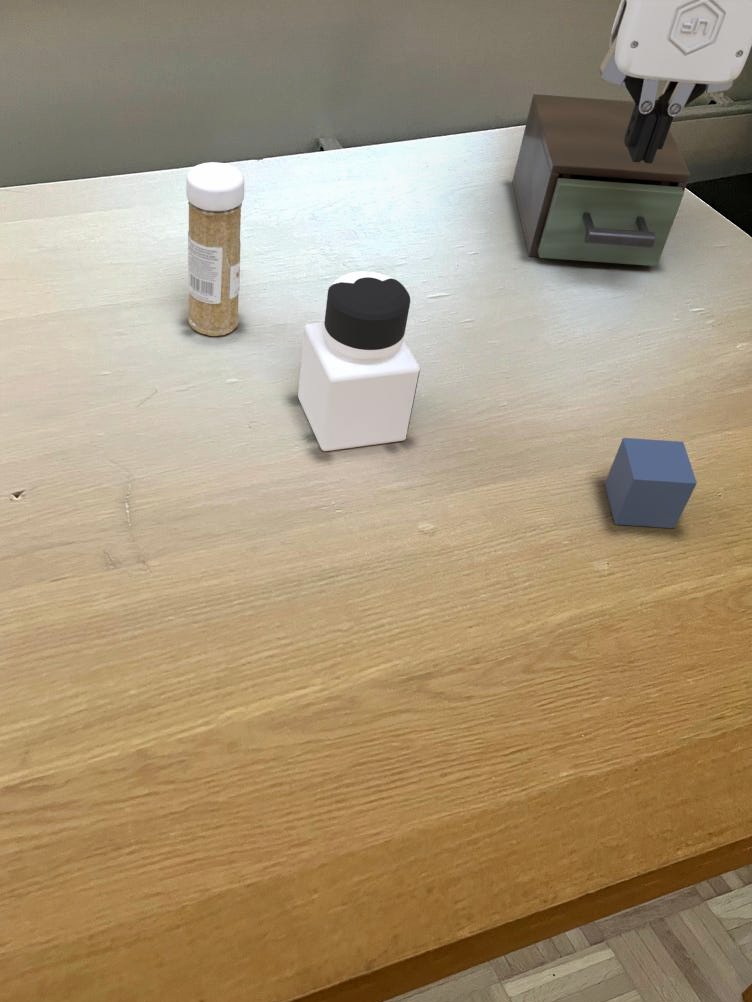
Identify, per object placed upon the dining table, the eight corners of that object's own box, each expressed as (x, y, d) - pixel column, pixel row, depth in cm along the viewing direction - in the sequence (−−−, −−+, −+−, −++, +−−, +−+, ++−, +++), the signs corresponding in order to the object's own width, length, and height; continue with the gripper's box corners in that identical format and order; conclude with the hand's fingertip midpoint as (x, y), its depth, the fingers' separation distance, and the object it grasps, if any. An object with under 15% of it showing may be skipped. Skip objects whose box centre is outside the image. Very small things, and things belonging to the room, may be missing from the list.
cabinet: (656, 265, 103) (690, 175, 96) (528, 256, 103) (553, 164, 96) (629, 190, 112) (658, 103, 105) (511, 182, 112) (533, 93, 105)
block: (662, 487, 82) (683, 441, 79) (674, 528, 79) (697, 483, 76) (604, 483, 82) (622, 437, 79) (614, 524, 79) (633, 478, 76)
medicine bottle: (407, 442, 84) (434, 310, 75) (321, 453, 82) (338, 320, 73) (378, 387, 88) (400, 255, 79) (296, 397, 87) (309, 264, 77)
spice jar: (249, 327, 93) (256, 178, 82) (207, 344, 91) (209, 194, 80) (217, 302, 95) (221, 154, 84) (176, 318, 93) (174, 169, 82)
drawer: (666, 291, 98) (694, 218, 93) (545, 283, 98) (566, 208, 93) (631, 195, 110) (655, 124, 104) (522, 187, 109) (540, 116, 104)
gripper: (631, -86, 74) (559, 169, 88) (840, -67, 75) (735, 184, 89) (613, -120, 79) (547, 128, 93) (809, -102, 79) (714, 142, 93)
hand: (639, 154), depth 91 cm, fingers closed
